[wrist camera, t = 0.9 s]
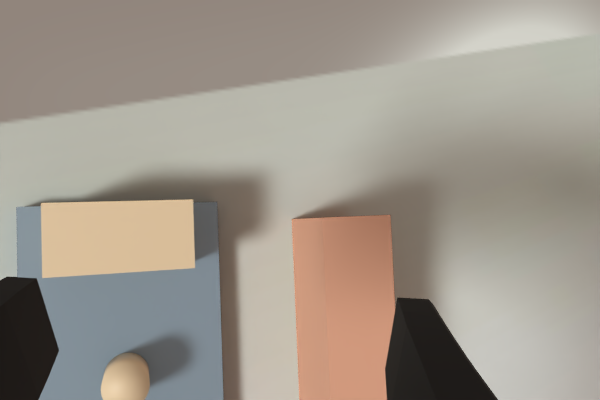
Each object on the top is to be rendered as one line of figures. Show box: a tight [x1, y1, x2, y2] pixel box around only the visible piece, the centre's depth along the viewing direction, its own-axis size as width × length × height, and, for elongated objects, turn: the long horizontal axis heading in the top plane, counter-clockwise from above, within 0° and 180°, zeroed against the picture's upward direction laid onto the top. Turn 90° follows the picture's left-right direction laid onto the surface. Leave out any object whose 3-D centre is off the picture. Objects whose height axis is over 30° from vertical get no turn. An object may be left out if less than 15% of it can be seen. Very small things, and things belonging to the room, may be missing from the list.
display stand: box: [16, 199, 223, 400], centre depth 22 cm, size 16×9×4 cm, turn 2°
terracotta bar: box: [292, 215, 395, 400], centre depth 25 cm, size 14×4×5 cm, turn 3°
